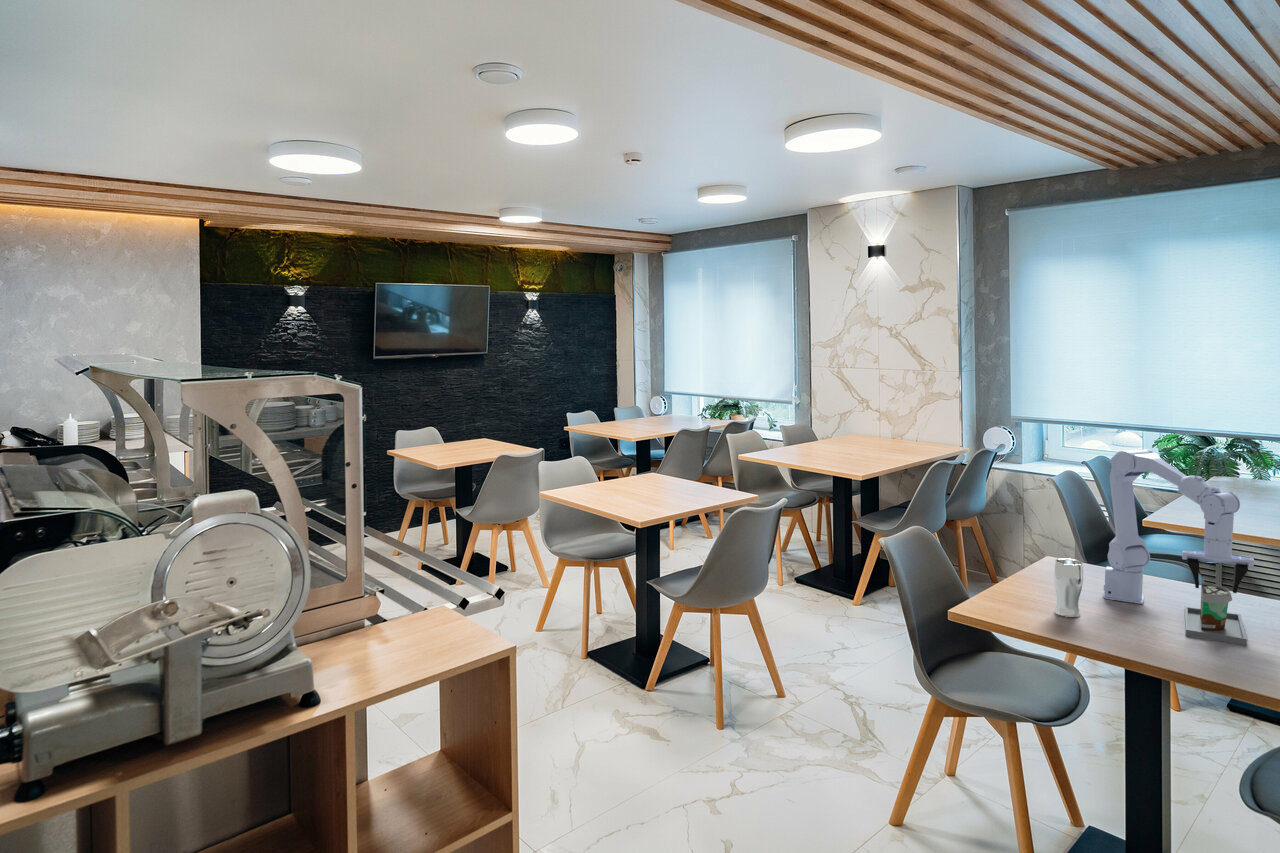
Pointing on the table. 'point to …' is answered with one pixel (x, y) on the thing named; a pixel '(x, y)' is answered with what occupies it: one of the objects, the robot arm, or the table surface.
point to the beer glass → (1068, 586)
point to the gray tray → (1230, 634)
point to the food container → (1214, 606)
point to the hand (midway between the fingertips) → (1215, 589)
